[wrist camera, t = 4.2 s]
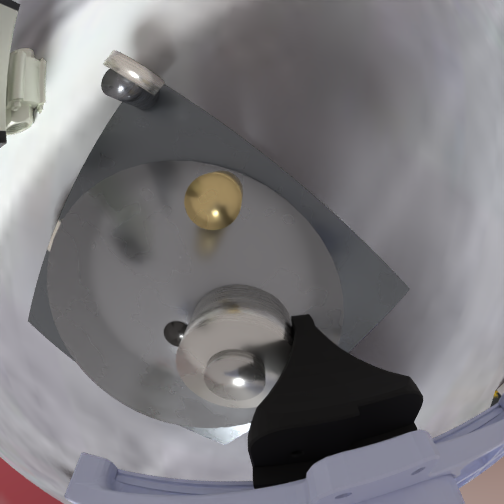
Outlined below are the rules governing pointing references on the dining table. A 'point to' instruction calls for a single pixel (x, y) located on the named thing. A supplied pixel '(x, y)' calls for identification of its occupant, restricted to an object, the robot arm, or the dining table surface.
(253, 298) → the cover
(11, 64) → the pneumatic valve
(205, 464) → the dining table surface
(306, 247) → the turntable
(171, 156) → the base plate
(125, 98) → the silver oval knob
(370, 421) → the robot arm
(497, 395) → the medicine bottle
